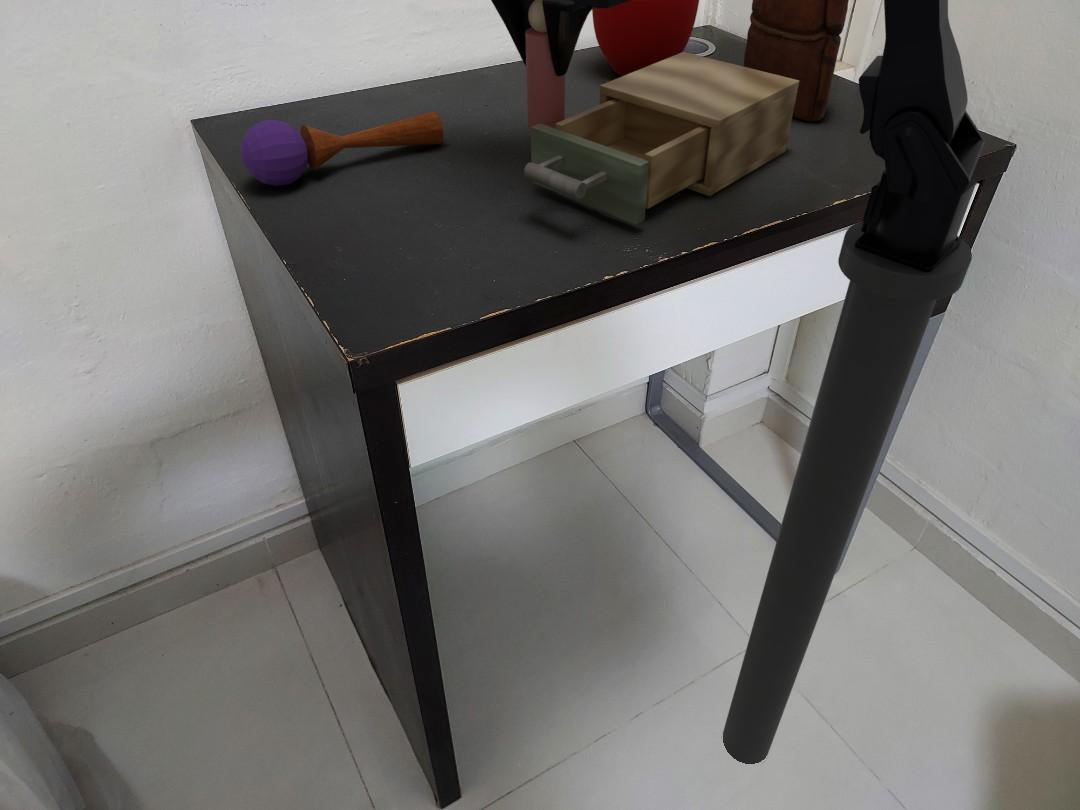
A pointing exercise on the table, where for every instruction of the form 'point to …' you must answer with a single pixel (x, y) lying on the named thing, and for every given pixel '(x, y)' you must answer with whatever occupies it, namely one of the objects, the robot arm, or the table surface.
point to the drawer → (619, 157)
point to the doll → (542, 74)
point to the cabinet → (717, 110)
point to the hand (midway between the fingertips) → (545, 70)
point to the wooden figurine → (798, 47)
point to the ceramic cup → (643, 31)
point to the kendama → (324, 145)
